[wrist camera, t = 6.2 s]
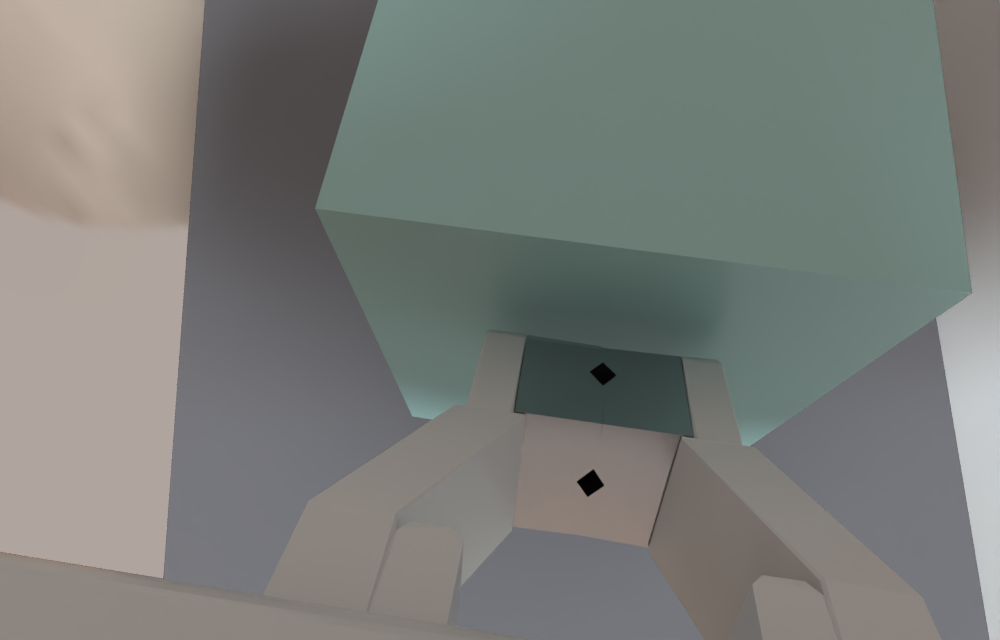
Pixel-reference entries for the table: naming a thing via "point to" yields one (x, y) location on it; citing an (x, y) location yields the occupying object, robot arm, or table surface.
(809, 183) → the box
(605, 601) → the mat
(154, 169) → the table surface
